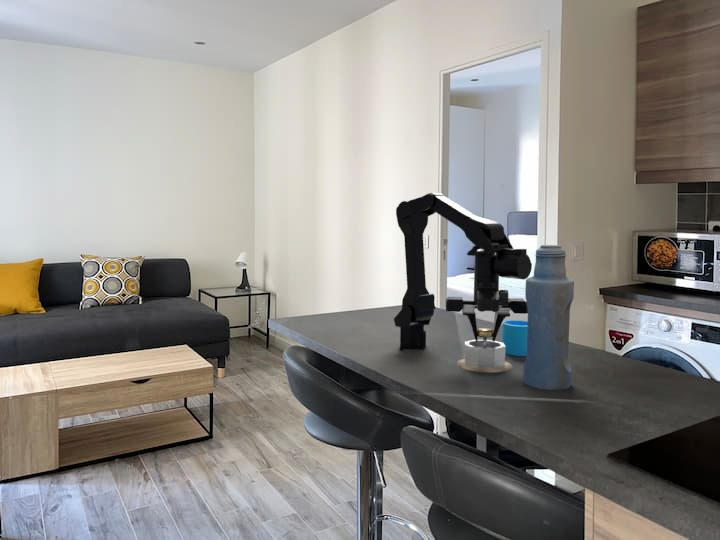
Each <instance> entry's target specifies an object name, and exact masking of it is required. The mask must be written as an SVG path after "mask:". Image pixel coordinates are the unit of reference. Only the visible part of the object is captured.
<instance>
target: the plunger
mask: <svg viewBox="0 0 720 540" xmlns="http://www.w3.org/2000/svg"><path fill="white" fill-rule="evenodd" d="M477 334H478V338H482V339H483V348H486V344H487V340H488V338H492V337H493V328H486V327H481V328H480V327H479V328H477Z"/></svg>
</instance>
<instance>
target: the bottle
mask: <svg viewBox="0 0 720 540" xmlns="http://www.w3.org/2000/svg"><path fill="white" fill-rule="evenodd" d="M534 255H535V263H534V269H533V276H531V277H530V276H529V277H528V278H527V279H525V290H524V291H525V301H526V302H527V308H528V313H527V321H528V325H527V356H525V357H526V358H525V362H524V364H523V369H522V370H523V372H522V373H523V377H522V378H523V379H522V381H523V383H524V385H526V386H528V387H530V388H531V387H532V388H535V389H540V390H545V391H563V390H564V391H565V390H568V389H569V388H571V386H572V366H571V363H570V358H569V347H570V346H569V345H570V340H569V339H570V321H571V320H570V315H571V305H572V303H573V301H574V297H575V296H574V295H575V294H574V293H575V292H574V291H575V280H574V279H572V278H569V277H567V270H566V257H567V254H566V250H565V249H564V248H562V245H559V244H558V245H556V244H541V245H540V247H539V248H537V249H536V251H535V254H534Z"/></svg>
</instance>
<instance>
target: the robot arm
mask: <svg viewBox="0 0 720 540" xmlns="http://www.w3.org/2000/svg"><path fill="white" fill-rule="evenodd" d="M395 213H396V221H397V225H398V228H399V229H400V230H401V233H402V234H403V237H404V248H405V249H404V252H405V253H404V255H405V268H406V269H405V270H406V271H405V273H406V284H407V285H406V286H407V287H406V291H405V293H404V295H403V297H402V303H401V309H400V311H399V312H398V313H397V315H396V316H394V317H393V322H394V325H395V327H396V328H397V327H398V328H400V331H399V333H400V336H399V350H401V351H404V350H418V351H420V350H421V351H424V350H425V348H426V346H427V330H425V326H430V322H431V319H432V317H433V316H434V314H435V310H436V305H435V298H436V297H435V293H430V292H429V290H428V289H427V285H426V284H427V283H426V269H425V268H426V267H425V266H426V265H425V251H424V247H425V246H424V232H425V230H426V228H427V226H428V224H429V217H430V216H432V215H435V214H437V215H440V216H441V217H443V219H445V220H447V221H449V222H450V223H451V224H453V225H455V226H457V227H458V228H459V229H461V231H462V232H464V235H465V237H466V238H467V240H469V241H470V242H471V243H472V244H473V246H472V248H471V249H470V250H469V251H467V253H466V255H467V256H470V257H471V256H472V257H474V269H473V270H474V271H473V272H474V273H473V275H474V276H473V278H474V280H473V300H464V298H463V296H447V297H446V298H445V312H450V313H451V312H454V313H455V312H456V313H459V312H461V313H462V316H466V317H467V319H468V320H469V323H470V325H471V329H472V332H473V335H474V340H476V341H477V340H478V338H479V336H478V334H477V329H478V327H477V316H476V311H475V310H477V311H478V312H483V313H484V312H493V313H494V317H493V318H494V319H493V325H492V330H493V337H491V340H492V341H496V337H497V335H498V334H499V330H500V328H501V326H502V324H503V322H504V321H505V319H506V318H507V317H508V318H509V317H511V314H510V312H513V313H514V314H522V315H523V314H524V315H526V314H527V315H528V308H527V302H526V299H524V298H522V297H521V298H517V297H515V298H513V297H509V290H508V289H500V287H499V286H500V278H507V279H516V280H526V279H527V278H529V277H530V274H531V272H532V268H533V265H532V261H531V258H530V256H529V255H528V253H527V251H528V250H527V249H526V248H514V247H513V245H512V243H511V242H510V240H509V239H508V237H507V235H506V233H505V228H504V226H503V225H502V224H501V223H499V222H498V221H495V220H491V219H489V218H484V217H480V216H478V215H475V214H474V213H472V212H470V211H469V210H467V209H466V208H464V207H462V206H461V205H460V204H458V203H456V202H454V201H452V200H451V199H449V198H448V197H446V196H445V194H443V193H440V192H429V193H427V194H425V195H422V196H420V197H417V198H414V199H410V200H403V201H401V202H400V203H399V204H398V206H396V209H395Z"/></svg>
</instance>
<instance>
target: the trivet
mask: <svg viewBox="0 0 720 540" xmlns="http://www.w3.org/2000/svg"><path fill="white" fill-rule="evenodd" d="M456 365H457V366H458V367H459V368H462V369H463V370H467V371H472V372H478V373H503V372H507V371H510V370H511V369H513V365H512V364H511V363H509V362H508V361H505V368H501V369H497V370H478V369H474V368H471V367H467V366H465V363H464V358H462V359H459V360H458V361H456Z"/></svg>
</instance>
